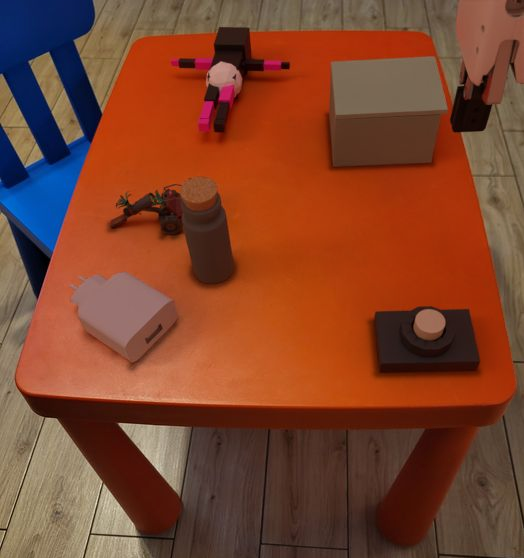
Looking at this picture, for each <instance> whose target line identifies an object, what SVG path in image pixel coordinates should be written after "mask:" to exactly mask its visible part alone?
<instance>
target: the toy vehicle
mask: <svg viewBox="0 0 524 558" xmlns="http://www.w3.org/2000/svg"><path fill="white" fill-rule="evenodd" d="M191 178H192V177H188V179H187V180H189V179H191ZM187 180H184V182H186V181H187ZM182 185H183V184H178V183H173V184H171V185H167V186H163V189H162V190H163V192H162V193H161V194H160V193H159V189H156V190H155V191H154V193H153V192H148V193H147V194H144V196H142V197H140V198H139V199H138V200H137V201H134V202H133V203H130V201H129V197H130V196H132V195H133V194H132V193H129V192H130V190H127V191H126V192H125V196H123V195H122V194H120V196H119V197H120V198H119V199H118V200H117V202H116V203H115V208H116V209H120V208H123V210H122V214H120V215H118V216H117V217H115V218H112V219H111V220H110V224H109V225H110V226H109V227H110V228H111V229H113V228H115V227H118V226H120V225H121V224H123V223H125V222H127V221H128V219H129V218H131V217H133V216H136V215H138V214H139V215H141V216H142V213H141V212H149V213H156V214H158V216H157V219H158V222H159V223H160V224H159V225H160V231H161V232H163V233H165V235H167V236H168V235H172V236H175V235H177V234H178V233H179V232H181V230H182V220H181V219H178V217H180V216H182V213H183V211H182V207H181V199H182V197H181V195H180V192H177V190H175V189H170V188H171V187H174V186H179V187H181V186H182ZM128 193H129V194H128ZM158 206H159V207H158Z"/></svg>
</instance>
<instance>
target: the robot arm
mask: <svg viewBox="0 0 524 558" xmlns="http://www.w3.org/2000/svg"><path fill="white" fill-rule="evenodd" d="M455 32H456V38H457V41H458V46H459V50H460V53H461V56H462V60H461V65H460V71H459V76H458V83H459V85H458V86H457V87H456V90H455V95H454V100H453V104H452V109H451V113H450V117H449V122H450V125H451V130H452V132H453V133H474V132H475V133H476V132H483V131H485V130H486V129H487V125H488V122H489V118H490V114H491V111H492V108H493V105H501V103H502V102H503V97H504V92H505V88H506V82H507V77H508V74H509V69H510V68H511V71H512V75H513V77H514V80H515V83H516V84H520V85H524V0H458V6H457V12H456V20H455Z"/></svg>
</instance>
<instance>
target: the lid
mask: <svg viewBox="0 0 524 558" xmlns="http://www.w3.org/2000/svg"><path fill="white" fill-rule="evenodd" d="M331 73H332V85H333V97H334V109H335V119H352V118H373V117H394V116H415V115H436V114H441V115H448V112H449V108H448V103H447V99H446V96H445V92H444V91H445V90H444V89H443V88H444V86H443V83H442V80H441V75H440V71H439V68H438V63H437V59H436V55H430V56H429V55H427V56H412V57H393V58H391V57H390V58H378V59H377V58H375V59H373V58H372V59H356V60H355V59H354V60H353V59H352V60H337V61H336V60H335V61H330V74H331Z"/></svg>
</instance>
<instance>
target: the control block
mask: <svg viewBox="0 0 524 558" xmlns="http://www.w3.org/2000/svg"><path fill="white" fill-rule="evenodd" d="M426 309H432V310H436V311H438V312H440V313H441V314H442V315H443V316H444V318H445V327H444V330H443V333H442V335H441V336H440V337H439V338H438V339H436V340H433V341H426V340H423V339H421V338H419V337H418V336H417V335H416V334H415V332H414V329H413V326H414V322H415V318H416V315H417V314H418V313H419V312H420V311H422V310H426ZM373 328H374V336H375V346H376V355H377V363H378V372H379V373H423V372H425V373H426V372H466V371H467V372H468V371H469V372H470V371H472V372H473V371H475V372H476V371H477V369H478V368H479V365H480V363H481V359H480V354H479V348H478V345H477V340H476V335H475V331H474V326H473V322H472V316H471V312H470V309H469V308H454V309H453V308H452V309H451V308H450V309H440V308H438V307H435V306H431V305H429V306H428V305H427V306H425V305H424V306H416V307H415V308H413V309H411V310H379V311H377V310H376V311H375V312H374V317H373Z"/></svg>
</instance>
